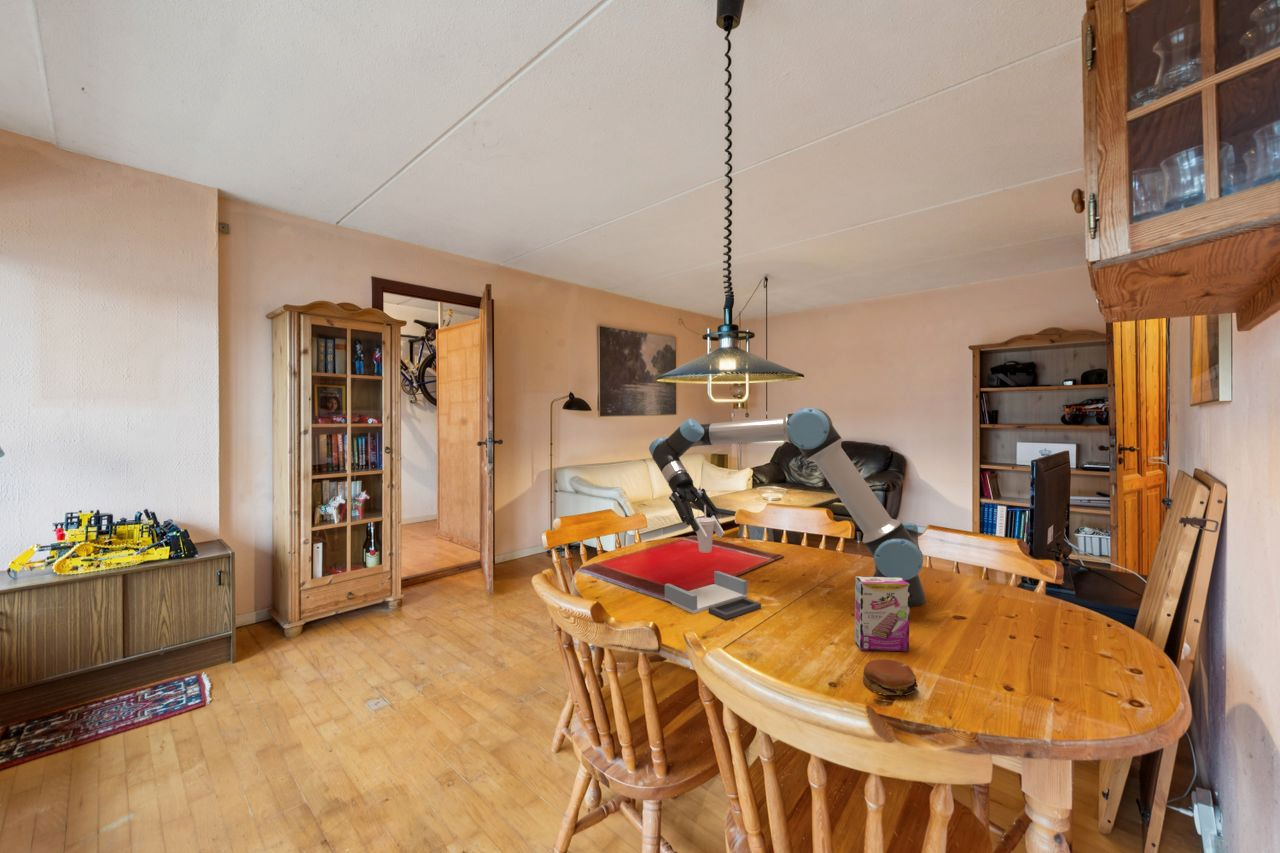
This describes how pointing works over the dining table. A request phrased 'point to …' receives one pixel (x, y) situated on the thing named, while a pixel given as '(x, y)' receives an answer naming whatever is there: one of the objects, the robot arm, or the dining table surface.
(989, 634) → the dining table surface
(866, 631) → the candy bar box
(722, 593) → the walled channel
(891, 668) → the burger
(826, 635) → the dining table surface
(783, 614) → the dining table surface
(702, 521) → the smoothie
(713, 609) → the tray
